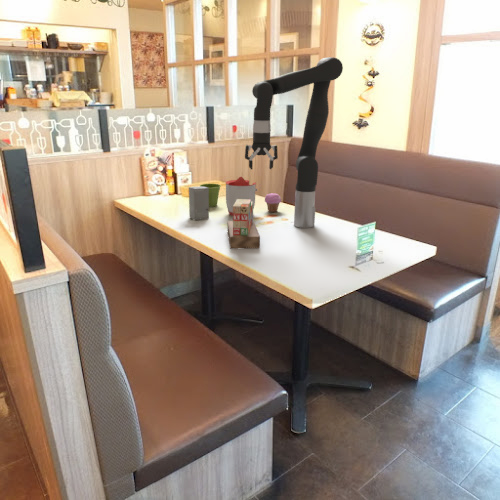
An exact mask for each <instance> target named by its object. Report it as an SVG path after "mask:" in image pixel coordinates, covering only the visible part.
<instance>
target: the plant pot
mask: <svg viewBox="0 0 500 500" xmlns="http://www.w3.org/2000/svg"><path fill="white" fill-rule="evenodd" d="M200 186H204V187H207V188H209V207H216V206H218V203H219V202H218V201H219V193H220V189H221V186H222V184H219V183H202V184H199V187H200Z"/></svg>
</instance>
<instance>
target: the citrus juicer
mask: <svg viewBox="0 0 500 500" xmlns="http://www.w3.org/2000/svg"><path fill="white" fill-rule="evenodd" d="M224 184H225V204H226V208H227V212H228V214H229V216H232V217H233V205H234V204H235V202H236V200H237V199H251V202H253V210H254V209H255V205H256V192H258V188H257V182H253V183H252V184H250V180H249V179H245V178H244V177H242V176H239V177H238V178H237V179H231V180H227V181H225V183H224Z"/></svg>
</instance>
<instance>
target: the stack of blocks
mask: <svg viewBox="0 0 500 500" xmlns="http://www.w3.org/2000/svg"><path fill="white" fill-rule="evenodd" d="M232 221H233V235H248V233H249V231H250V228H251V225H252V222H253V221H254V209H253V202H251V199H237V200H236V202H235V204H234V205H233V216H232Z"/></svg>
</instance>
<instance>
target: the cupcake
mask: <svg viewBox="0 0 500 500" xmlns="http://www.w3.org/2000/svg"><path fill="white" fill-rule="evenodd" d="M264 202H265V203H266V206H267V211H268V212H269V213H277V212H278V209H279V205H280V204H281V202H282V199H281V196H280V195H279V194H278V193H275V192H274V193H267V194H266V195H265V197H264Z"/></svg>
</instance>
